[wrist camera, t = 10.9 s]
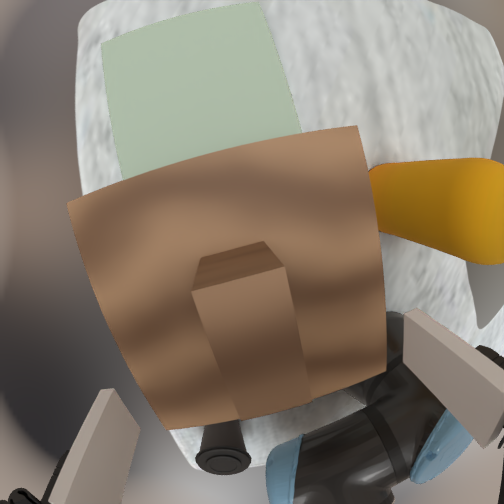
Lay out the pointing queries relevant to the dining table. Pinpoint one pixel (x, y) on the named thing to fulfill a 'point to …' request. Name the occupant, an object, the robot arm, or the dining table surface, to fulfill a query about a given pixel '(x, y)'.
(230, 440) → the coffee cup
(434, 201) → the yellow bottle
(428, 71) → the dining table surface
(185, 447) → the dining table surface
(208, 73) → the green mat
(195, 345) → the walnut cover
